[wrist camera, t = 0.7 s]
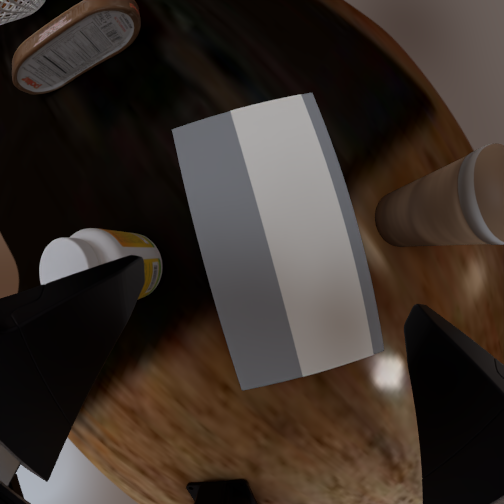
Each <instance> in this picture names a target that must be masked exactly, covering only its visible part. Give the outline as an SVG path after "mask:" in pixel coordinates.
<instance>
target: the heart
mask: <svg viewBox="0 0 504 504" xmlns="http://www.w3.org/2000/svg"><path fill="white" fill-rule="evenodd" d="M0 1H1V2H2V3H1V4H0V10H1V11H0V16H1V15H3V16H2V17H1V18H0V25H2V24H5V23H8V22H11V21H15V20H18V19H21V18H24V17H26V16H29V15H31V14H33V13H34V12H36V11H37V10H38V9H39V8H40V7H41V6H42V5H43V4H44V2H45V0H42V1H41V0H35V1H36V2H35V1H34V0H25V1H23V0H18V1H17V2H15V1H14V0H9V1H10V2H6V0H0ZM20 1H22V2H23V3H22V4H19V2H20ZM28 1H30V2H29V3H27V2H28ZM33 1H34V2H35V3H34V2H33ZM3 3H6V4H7V5H6V6H5V7H4V8H2V7H1V6H2V5H3ZM12 3H13V4H12ZM30 3H31V4H30ZM36 3H37V4H38V5H37V4H36ZM23 4H24V5H25V4H27V5H26V6H24V5H23ZM32 4H33V5H32ZM35 4H36V5H37V6H36V5H35ZM10 5H13V6H12V7H11V8H10V9H8V7H9V6H10ZM28 5H29V6H28ZM31 5H32V6H31ZM14 6H15V7H14ZM16 6H19V7H18V8H17V9H15V8H16ZM27 6H28V7H27ZM30 6H31V7H30ZM33 6H34V7H35V8H34V7H33ZM13 7H14V8H13ZM20 7H21V8H20ZM29 7H30V8H29ZM19 8H20V9H19ZM22 8H23V9H22ZM25 8H26V9H25ZM33 8H34V9H33ZM21 9H22V10H21ZM24 9H25V10H24ZM27 9H28V10H27ZM11 10H12V11H11ZM17 10H19V11H17ZM20 10H21V11H20ZM30 10H31V11H30ZM2 12H4V14H1V13H2ZM17 13H18V14H17ZM20 13H21V14H20ZM10 14H11V15H10ZM13 14H17V15H13ZM6 15H10V16H8V17H5V16H6ZM12 15H13V16H12ZM4 19H5V20H4Z"/></svg>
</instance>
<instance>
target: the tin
mask: <svg viewBox="0 0 504 504" xmlns="http://www.w3.org/2000/svg"><path fill="white" fill-rule="evenodd" d="M140 27H141V21H140V16H139V8H138V5H137V3H136V2H135V1H134V0H83V1H82V2H80V3H78V4H77V5H75V6H73V7H72V8H70V9H69V10H67V11H65V12H64V13H62V14H61V15H59V16H58V17H56V18H55V19H54V20H52V21H51V22H49V23H48V24H46V25H45V26H44V27H42V28H41V29H40V30H38V31H37V32H36V33H34V34H33V35H32V36H30V37H29V38H28V39H26V40H25V41H24V42H23V43H22V44H21V45H20V46H19V47H18V49H17V50H16V52H15V54H14V56H13V60H12V80H13V83H14V85H15V86H16V87H17V88H18V89H19V90H21V91H23V92H26V93H29V94H44V93H49V92H52V91H55V90H57V89H59V88H61V87H63V86H65V85H66V84H68V83H69V82H71V81H72V80H74V79H75V78H77V77H79V76H80V75H82V74H83V73H85V72H87V71H88V70H90V69H92V68H93V67H95V66H97V65H99V64H100V63H102V62H104V61H106V60H107V59H109V58H111V57H113V56H115V55H117V54H119V53H120V52H122V51H123V50H125V49H126V48H127V47H129V46H130V45H131V44H132V43H133V41H134V40H135V39H136V37H137V36H138V34H139V31H140Z"/></svg>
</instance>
